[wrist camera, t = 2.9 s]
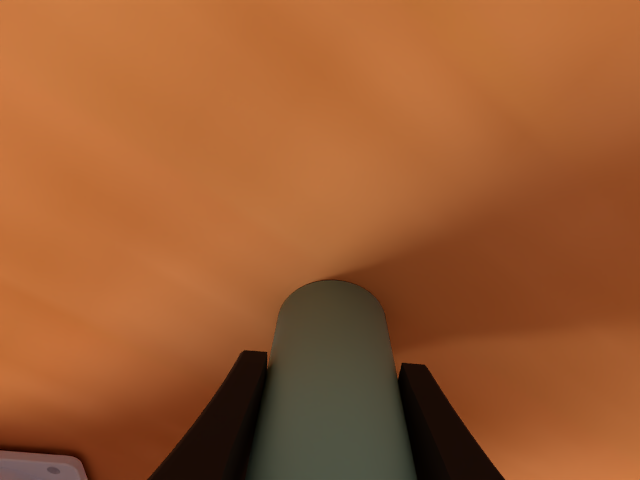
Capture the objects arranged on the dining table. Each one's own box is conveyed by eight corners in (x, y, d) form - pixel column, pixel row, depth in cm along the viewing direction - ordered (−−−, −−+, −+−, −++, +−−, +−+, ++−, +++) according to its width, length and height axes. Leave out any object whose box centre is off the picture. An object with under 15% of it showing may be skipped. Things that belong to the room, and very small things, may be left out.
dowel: (276, 360, 13) (209, 729, 6) (279, 275, 11) (191, 646, 4) (377, 368, 13) (430, 746, 6) (394, 285, 11) (495, 670, 4)
